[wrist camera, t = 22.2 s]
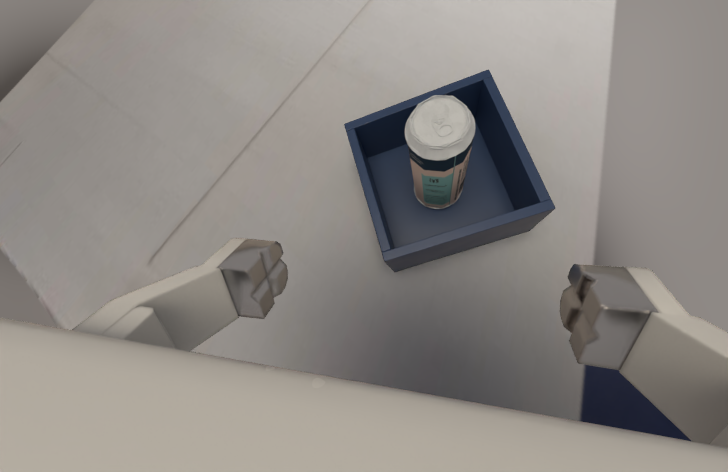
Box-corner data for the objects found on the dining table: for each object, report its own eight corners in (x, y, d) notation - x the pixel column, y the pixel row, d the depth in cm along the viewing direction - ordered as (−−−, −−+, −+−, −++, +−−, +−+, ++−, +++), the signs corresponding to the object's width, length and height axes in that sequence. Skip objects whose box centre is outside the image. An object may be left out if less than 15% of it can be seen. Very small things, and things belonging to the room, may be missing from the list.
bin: (530, 230, 30) (555, 208, 24) (394, 272, 32) (384, 261, 26) (478, 115, 34) (488, 69, 28) (360, 158, 36) (343, 123, 30)
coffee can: (447, 159, 33) (454, 77, 22) (471, 196, 31) (491, 130, 20) (406, 180, 33) (391, 110, 22) (427, 218, 32) (423, 165, 21)
